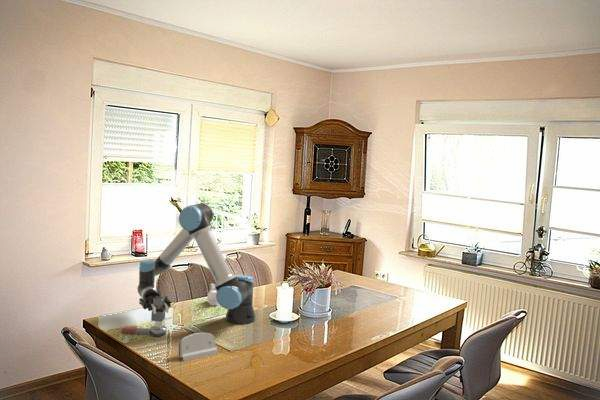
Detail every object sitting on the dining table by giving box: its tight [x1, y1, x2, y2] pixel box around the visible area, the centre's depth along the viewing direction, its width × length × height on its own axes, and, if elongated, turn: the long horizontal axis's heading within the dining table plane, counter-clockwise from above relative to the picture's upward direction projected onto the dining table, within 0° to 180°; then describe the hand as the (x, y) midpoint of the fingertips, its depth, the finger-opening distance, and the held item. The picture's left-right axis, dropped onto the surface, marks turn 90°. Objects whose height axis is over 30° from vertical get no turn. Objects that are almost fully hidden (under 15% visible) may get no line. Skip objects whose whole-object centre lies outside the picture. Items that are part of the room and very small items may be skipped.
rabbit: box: [206, 282, 220, 307], centre depth 295 cm, size 12×9×12 cm
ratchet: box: [121, 321, 167, 338], centre depth 244 cm, size 20×7×6 cm, turn 90°
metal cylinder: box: [150, 296, 166, 323], centre depth 244 cm, size 5×5×10 cm
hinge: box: [177, 332, 219, 362], centre depth 223 cm, size 17×5×10 cm, turn 128°
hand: (161, 310), depth 239 cm, fingers closed on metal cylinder, 5 cm apart
